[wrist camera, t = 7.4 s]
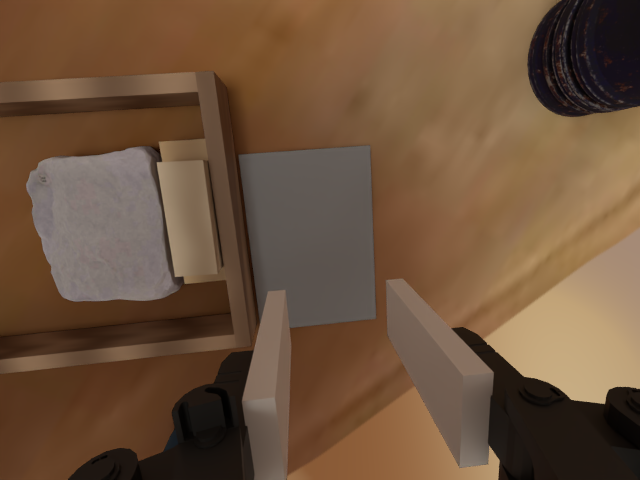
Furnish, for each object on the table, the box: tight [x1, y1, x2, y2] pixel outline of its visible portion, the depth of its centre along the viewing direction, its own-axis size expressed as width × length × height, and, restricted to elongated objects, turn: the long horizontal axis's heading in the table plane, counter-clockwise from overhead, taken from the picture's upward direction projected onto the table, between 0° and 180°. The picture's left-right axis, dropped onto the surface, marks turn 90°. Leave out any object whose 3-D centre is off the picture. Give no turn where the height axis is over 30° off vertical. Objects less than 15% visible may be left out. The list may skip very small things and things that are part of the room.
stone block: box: [26, 146, 184, 301], centre depth 24 cm, size 12×5×10 cm
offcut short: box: [157, 160, 224, 277], centre depth 23 cm, size 3×8×2 cm, turn 3°
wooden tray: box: [0, 71, 257, 374], centre depth 20 cm, size 26×20×12 cm
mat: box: [239, 145, 376, 328], centre depth 28 cm, size 11×16×1 cm
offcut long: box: [159, 139, 226, 284], centre depth 25 cm, size 4×11×3 cm, turn 4°
